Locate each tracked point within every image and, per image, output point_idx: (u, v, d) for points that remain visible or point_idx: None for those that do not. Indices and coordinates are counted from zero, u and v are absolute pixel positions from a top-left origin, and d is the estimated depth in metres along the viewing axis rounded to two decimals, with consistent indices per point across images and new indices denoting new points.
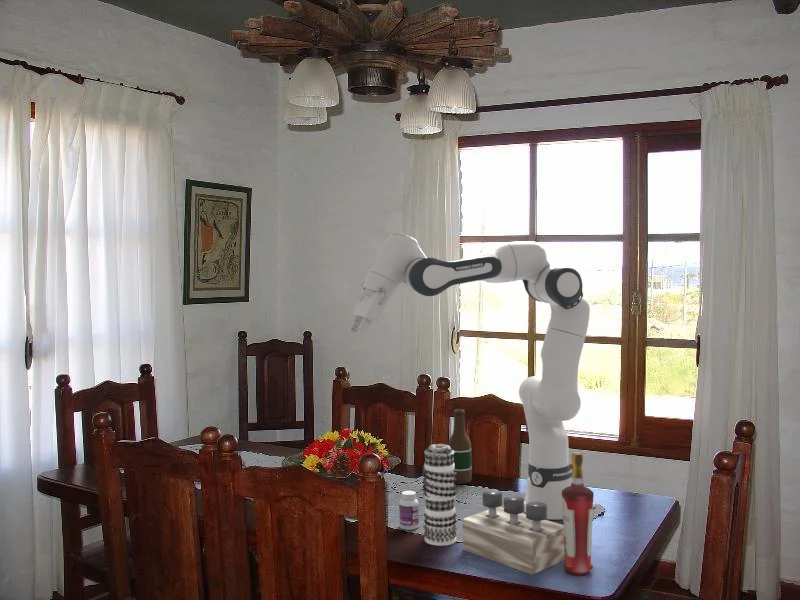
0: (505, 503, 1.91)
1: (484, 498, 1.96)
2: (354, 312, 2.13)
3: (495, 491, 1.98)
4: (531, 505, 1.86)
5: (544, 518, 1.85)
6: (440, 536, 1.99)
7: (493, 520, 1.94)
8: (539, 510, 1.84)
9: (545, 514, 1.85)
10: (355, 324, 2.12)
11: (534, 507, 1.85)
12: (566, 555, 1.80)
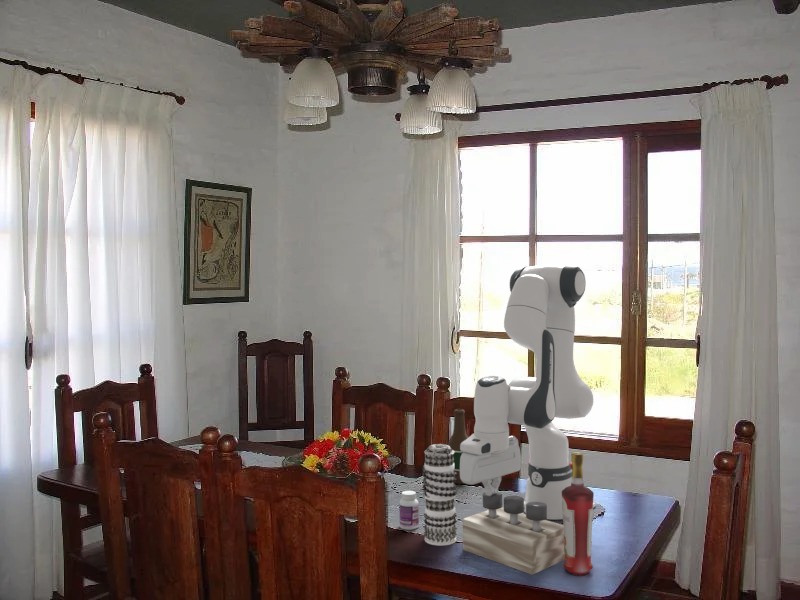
0: (505, 503, 1.91)
1: (484, 500, 1.96)
2: (480, 481, 1.91)
3: None
4: (531, 505, 1.86)
5: (544, 518, 1.85)
6: (440, 536, 1.99)
7: (493, 520, 1.94)
8: (539, 510, 1.84)
9: (545, 514, 1.85)
10: None
11: (534, 507, 1.85)
12: (566, 555, 1.80)
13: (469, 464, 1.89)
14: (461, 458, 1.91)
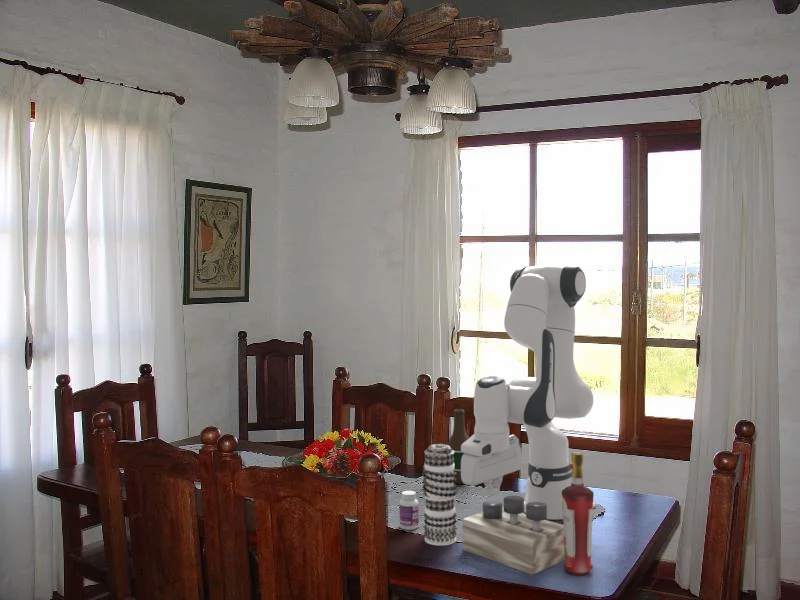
0: (505, 503, 1.91)
1: (484, 509, 1.96)
2: (481, 482, 1.92)
3: (495, 502, 1.98)
4: (531, 505, 1.86)
5: (544, 518, 1.85)
6: (440, 536, 1.99)
7: (493, 520, 1.94)
8: (539, 510, 1.84)
9: (545, 514, 1.85)
10: None
11: (534, 507, 1.85)
12: (566, 555, 1.80)
13: (470, 466, 1.89)
14: (462, 459, 1.92)
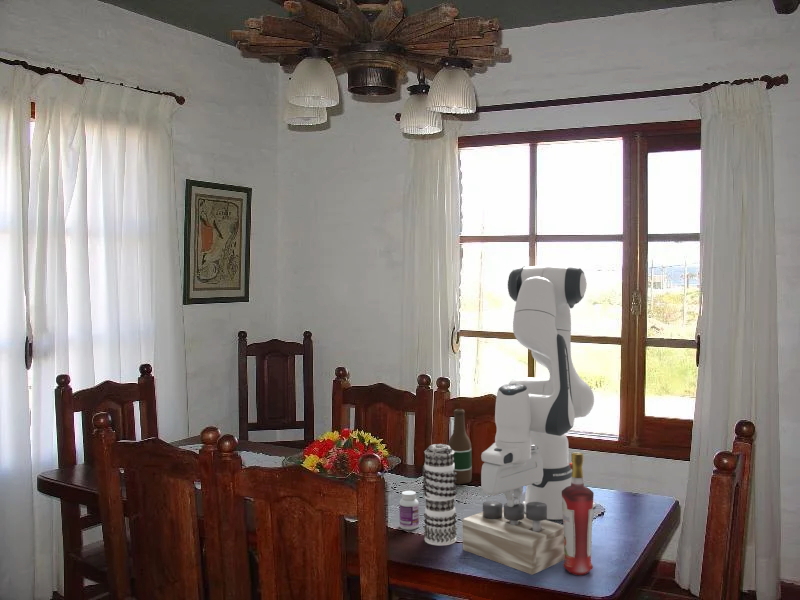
0: (505, 510, 1.91)
1: (484, 509, 1.96)
2: (502, 492, 1.86)
3: (495, 502, 1.98)
4: (531, 505, 1.86)
5: (544, 518, 1.85)
6: (440, 536, 1.99)
7: (493, 520, 1.94)
8: (539, 510, 1.84)
9: (545, 514, 1.85)
10: None
11: (534, 507, 1.85)
12: (566, 555, 1.80)
13: (491, 475, 1.84)
14: (482, 468, 1.86)
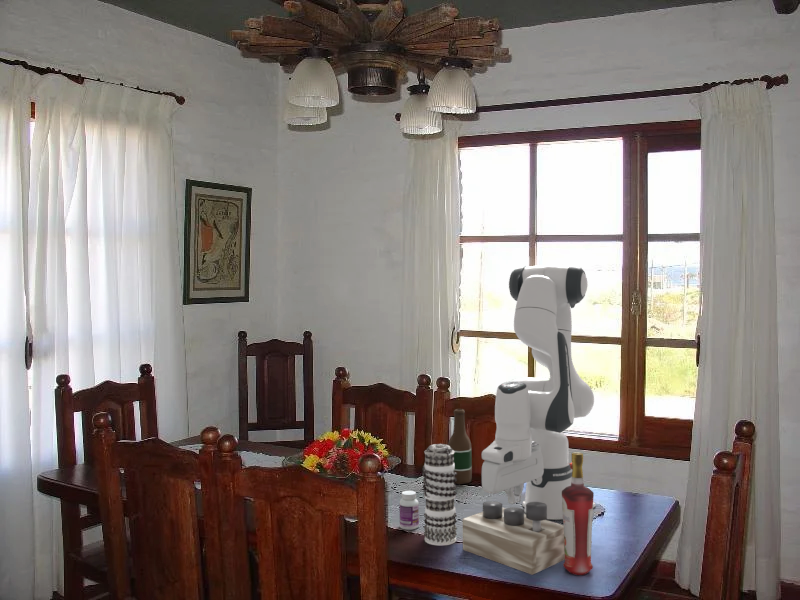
0: (505, 515, 1.91)
1: (484, 509, 1.96)
2: (503, 490, 1.86)
3: (495, 502, 1.98)
4: (531, 505, 1.86)
5: (544, 518, 1.85)
6: (440, 536, 1.99)
7: (493, 520, 1.94)
8: (539, 510, 1.84)
9: (545, 514, 1.85)
10: None
11: (534, 507, 1.85)
12: (566, 555, 1.80)
13: (491, 473, 1.84)
14: (483, 467, 1.87)
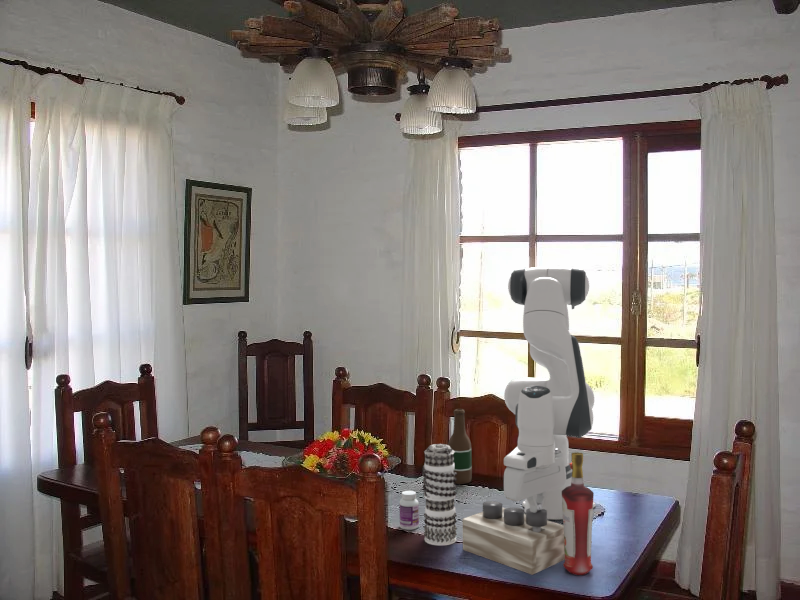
0: (505, 515, 1.91)
1: (484, 509, 1.96)
2: (525, 497, 1.81)
3: (495, 502, 1.98)
4: None
5: (544, 524, 1.85)
6: (440, 536, 1.99)
7: (493, 520, 1.94)
8: (540, 516, 1.84)
9: (545, 520, 1.85)
10: None
11: (534, 513, 1.85)
12: (566, 555, 1.80)
13: (514, 480, 1.79)
14: (505, 473, 1.81)
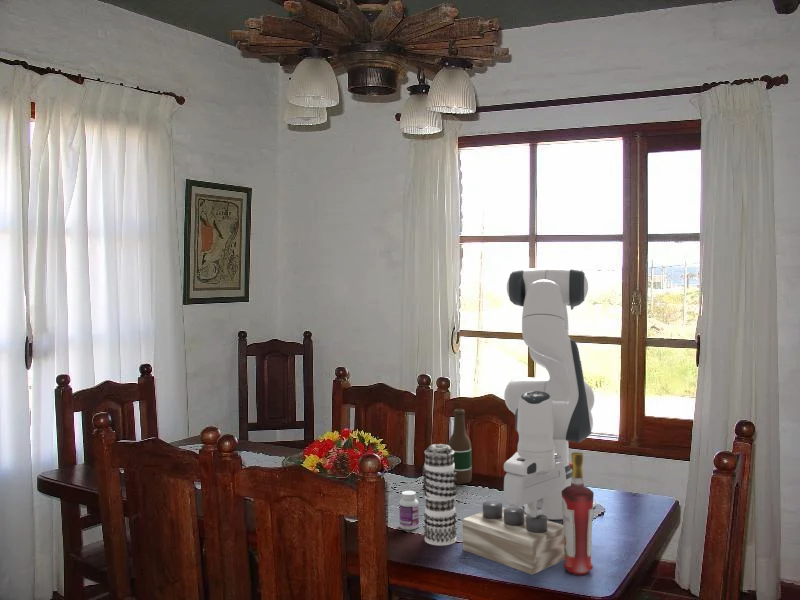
0: (505, 515, 1.91)
1: (484, 509, 1.96)
2: (525, 503, 1.81)
3: (495, 502, 1.98)
4: (531, 517, 1.86)
5: (544, 530, 1.85)
6: (440, 536, 1.99)
7: (493, 520, 1.94)
8: (540, 523, 1.84)
9: (545, 526, 1.85)
10: None
11: (534, 519, 1.85)
12: (566, 555, 1.80)
13: (514, 486, 1.79)
14: (505, 479, 1.81)
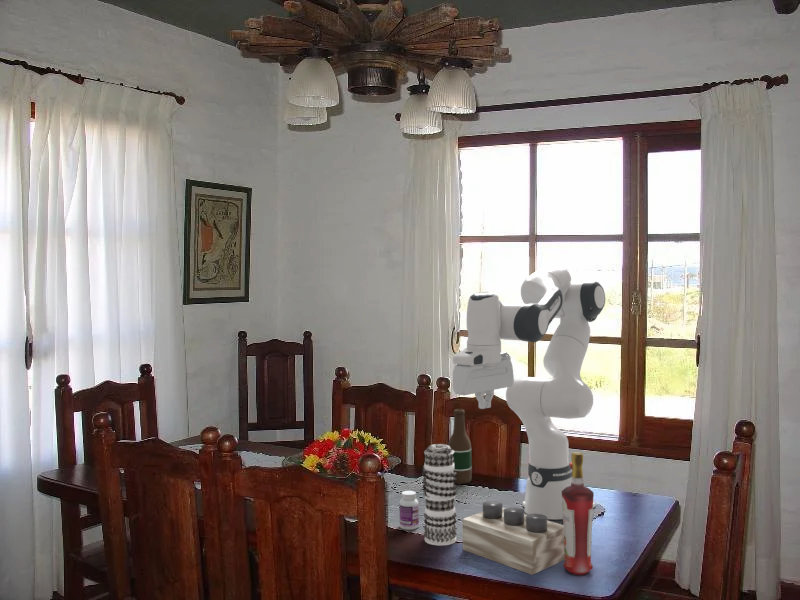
0: (505, 515, 1.91)
1: (484, 509, 1.96)
2: (473, 392, 1.94)
3: (495, 502, 1.98)
4: (531, 517, 1.86)
5: (544, 530, 1.85)
6: (440, 536, 1.99)
7: (493, 520, 1.94)
8: (540, 523, 1.84)
9: (545, 526, 1.85)
10: None
11: (534, 519, 1.85)
12: (566, 555, 1.80)
13: (462, 375, 1.92)
14: (454, 370, 1.95)
